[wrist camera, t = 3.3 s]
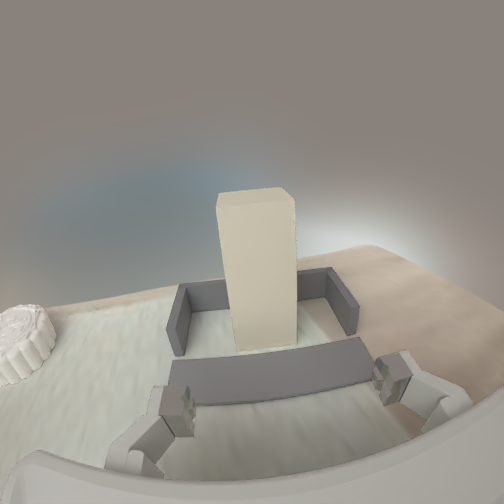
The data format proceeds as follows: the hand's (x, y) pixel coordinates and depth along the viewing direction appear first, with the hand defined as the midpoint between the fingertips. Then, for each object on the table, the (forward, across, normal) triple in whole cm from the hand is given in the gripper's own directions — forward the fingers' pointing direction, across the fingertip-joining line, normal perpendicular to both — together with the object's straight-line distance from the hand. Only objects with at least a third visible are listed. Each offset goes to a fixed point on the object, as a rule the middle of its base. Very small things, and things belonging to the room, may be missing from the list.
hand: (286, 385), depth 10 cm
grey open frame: (+10, 0, +7) cm, 12 cm away
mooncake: (+9, +28, +7) cm, 30 cm away
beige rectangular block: (+12, 0, +7) cm, 14 cm away
